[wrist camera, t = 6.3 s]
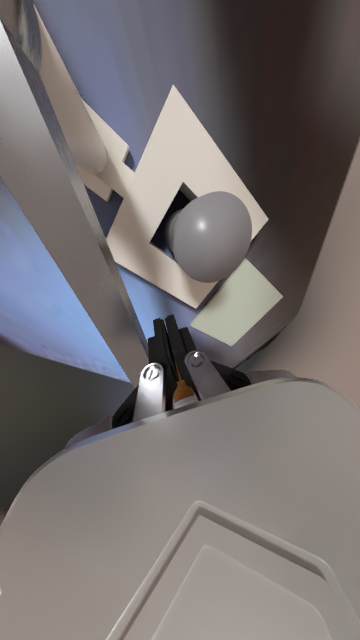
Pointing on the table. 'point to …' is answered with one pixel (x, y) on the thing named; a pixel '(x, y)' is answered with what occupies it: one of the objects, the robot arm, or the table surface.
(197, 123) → the socket base
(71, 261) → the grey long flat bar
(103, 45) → the table surface
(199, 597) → the robot arm
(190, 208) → the plug
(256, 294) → the rubber mat
